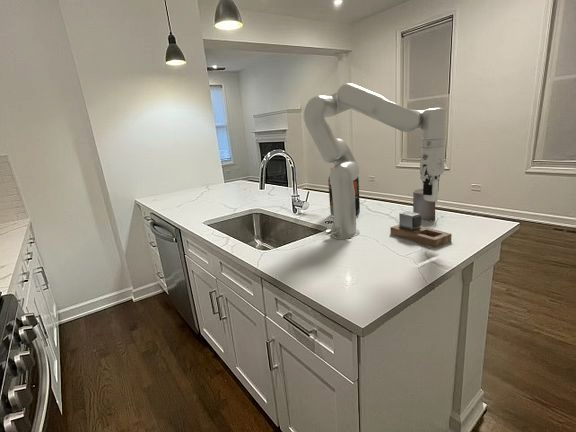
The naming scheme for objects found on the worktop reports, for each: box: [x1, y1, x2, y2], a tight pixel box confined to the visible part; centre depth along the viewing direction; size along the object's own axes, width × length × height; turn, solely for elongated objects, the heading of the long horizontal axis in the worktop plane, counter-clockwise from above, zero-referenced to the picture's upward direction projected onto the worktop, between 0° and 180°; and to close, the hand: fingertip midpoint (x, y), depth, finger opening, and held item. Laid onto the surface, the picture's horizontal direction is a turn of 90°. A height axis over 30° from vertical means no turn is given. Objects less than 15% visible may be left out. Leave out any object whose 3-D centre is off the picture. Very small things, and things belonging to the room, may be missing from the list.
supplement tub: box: [327, 166, 361, 217], centre depth 167 cm, size 16×16×26 cm
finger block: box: [398, 210, 422, 231], centre depth 128 cm, size 4×7×9 cm, turn 29°
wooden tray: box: [390, 224, 453, 249], centre depth 125 cm, size 10×21×4 cm, turn 29°
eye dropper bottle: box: [424, 175, 439, 202], centre depth 118 cm, size 4×6×12 cm
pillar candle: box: [412, 188, 436, 222], centre depth 149 cm, size 10×10×15 cm
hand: (430, 193), depth 119 cm, fingers closed on eye dropper bottle, 4 cm apart
